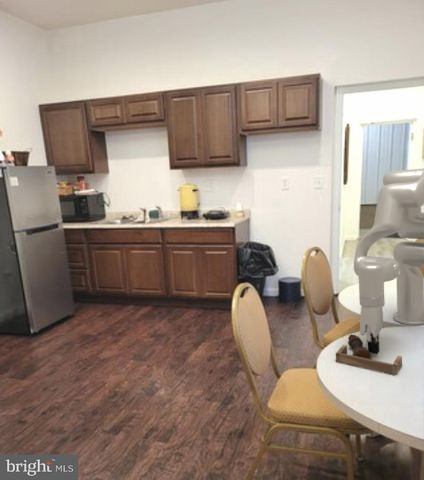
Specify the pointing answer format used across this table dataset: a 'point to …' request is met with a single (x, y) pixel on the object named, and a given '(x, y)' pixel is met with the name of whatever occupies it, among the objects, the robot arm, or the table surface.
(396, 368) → the bracket
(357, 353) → the bolt
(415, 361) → the table surface
